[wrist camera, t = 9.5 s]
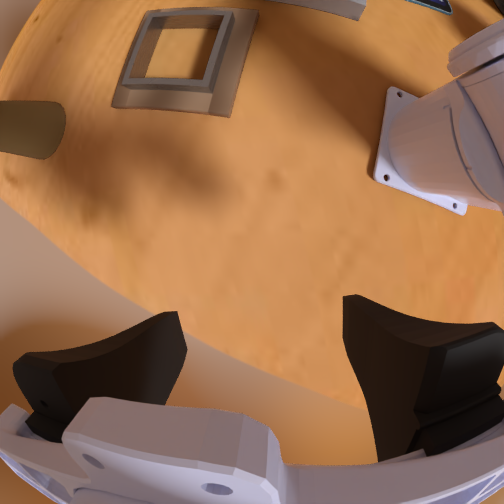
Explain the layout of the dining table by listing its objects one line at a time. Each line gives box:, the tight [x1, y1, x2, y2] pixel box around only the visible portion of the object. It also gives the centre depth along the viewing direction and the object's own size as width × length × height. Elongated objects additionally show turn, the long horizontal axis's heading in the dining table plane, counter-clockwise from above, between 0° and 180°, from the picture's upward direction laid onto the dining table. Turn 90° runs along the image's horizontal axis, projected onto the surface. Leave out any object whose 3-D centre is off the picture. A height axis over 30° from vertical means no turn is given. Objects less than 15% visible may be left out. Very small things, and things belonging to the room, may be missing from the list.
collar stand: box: [111, 7, 259, 118], centre depth 16 cm, size 10×10×2 cm
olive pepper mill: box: [0, 101, 66, 159], centre depth 14 cm, size 6×6×11 cm
